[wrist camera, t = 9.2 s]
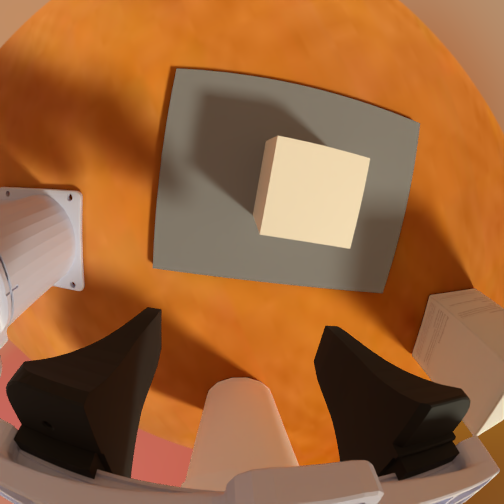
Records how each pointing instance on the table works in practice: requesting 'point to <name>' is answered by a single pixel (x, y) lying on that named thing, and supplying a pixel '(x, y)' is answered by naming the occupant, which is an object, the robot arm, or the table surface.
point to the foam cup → (237, 435)
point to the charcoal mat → (248, 172)
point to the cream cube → (309, 192)
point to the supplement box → (466, 352)
